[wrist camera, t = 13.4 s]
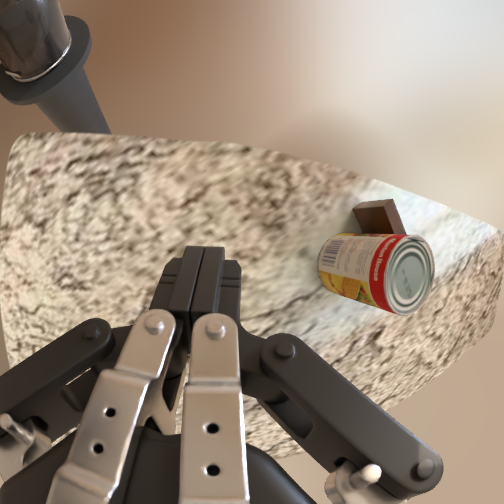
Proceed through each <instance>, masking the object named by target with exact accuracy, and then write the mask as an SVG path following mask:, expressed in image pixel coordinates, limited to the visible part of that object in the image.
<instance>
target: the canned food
mask: <svg viewBox="0 0 504 504" xmlns="http://www.w3.org/2000/svg"><path fill="white" fill-rule="evenodd" d="M318 272H319V277H320V279H321V281H322V283H323V285H324V286H325V287H326V288H327V289H328V290H330V291H331V292H333V293H336V294H338V295H341V296H344V297H347V298H350V299H353V300H356V301H359V302H362V303H365V304H368V305H371V306H374V307H377V308H380V309H383V310H386V311H389V312H392V313H395V314H398V315H402V316H408V315H411V314H413V313H415V312H416V311H418V310H419V309H420V308H421V307H422V306H423V305H424V303H425V302H426V300H427V298H428V296H429V294H430V292H431V289H432V286H433V281H434V274H435V264H434V257H433V253H432V250H431V248H430V246H429V244H428V243H427V242H426V241H425V240H424V239H423V238H422V237H420V236H418V235H397V234H363V233H340V234H337V235H334V236H333V237H331V238H330V239H329V240H328V241H327V242H326V243H325V244H324V246H323V248H322V250H321V252H320V255H319V259H318Z"/></svg>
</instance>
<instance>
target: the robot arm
mask: <svg viewBox="0 0 504 504" xmlns="http://www.w3.org/2000/svg"><path fill="white" fill-rule="evenodd" d="M71 43H72V38H71V34H70V31H69V30H68V28H67V25H66V22H65V19H64V16H63V13H62V10H61V7H60V4H59V1H58V0H0V61H1V63H2V64H3V65H4V66H5V68H6V69H7V70H8V71H9V72H7V71H5V72H6V73H7V74H8V75H11V76H12V77H13V78H14V80H16V81H17V82H20V83H29V82H33V81H36V80H38V79H40V78H42V77H44V76H46V75H47V74H49V73H50V72H51V71H53V70H54V69H55V68H56V67H57V66H58V65H59V64H60V63H61V62H62V61H63V60H64V58H65V57H66V55H67V54H68V52H69V50H70V47H71ZM240 300H241V267H240V265H239V264H238V262H237V260H225V249H224V247H207V246H206V248H205V246H186V249H185V252H184V255H183V257H182V258H173V259H172V260H170V261H169V262H168V263H167V264H166V265H165V268H164V270H163V273H162V276H161V278H160V281H159V284H158V286H157V289H156V291H155V294H154V297H153V300H152V302H151V305H150V308H149V310H148V311H146V312H144V313H142V314H141V315H139V316H138V317H137V319H136V320H135V322H134V324H133V325H130V326H125V327H118V328H111V327H110V325H109V323H108V322H107V321H105V320H103V319H100V318H92V319H88V320H86V321H84V322H82V323H81V324H79V325H78V326H76V327H74V328H73V329H71V330H70V331H68V332H67V333H65V334H63V335H62V336H60V337H59V338H57V339H56V340H54V341H53V342H51V343H50V344H48V345H46V346H45V347H43V348H42V349H40V350H39V351H37V352H36V353H34V354H33V355H31V356H30V357H28V358H27V359H25V360H24V361H22V362H21V363H19V364H18V365H16V366H15V367H13V368H12V369H10V370H9V371H7V372H6V373H4V374H3V375H1V376H0V475H1V477H2V479H3V481H4V484H3V485H2V487H1V488H0V504H317V503H316V502H315V501H314V500H313V499H312V498H311V497H310V496H309V495H308V494H307V493H306V492H305V491H304V490H303V489H302V488H301V487H300V486H299V485H298V484H297V483H296V482H295V481H294V480H293V479H292V478H291V477H290V476H289V475H288V474H287V472H286V471H285V470H284V469H283V468H282V467H281V466H280V465H279V464H278V463H277V462H276V461H275V460H274V459H273V458H272V457H271V456H270V455H268V454H267V453H265V452H264V451H262V450H261V449H259V448H257V447H255V446H252V445H250V444H247V443H245V434H244V419H243V403H242V394H245V395H248V396H251V397H254V398H256V399H257V401H258V403H259V404H260V405H261V406H262V407H263V408H264V409H265V410H266V411H267V412H268V413H269V415H270V416H271V417H272V418H273V419H274V420H275V421H276V422H277V423H278V424H279V425H280V426H281V427H282V428H283V429H284V430H285V431H286V432H287V433H288V434H289V435H290V436H291V437H292V438H293V439H294V440H295V441H296V442H297V443H298V444H299V445H300V446H301V447H302V448H303V449H304V450H305V451H306V452H307V453H309V454H310V455H311V456H312V457H313V458H314V459H315V460H316V461H317V462H318V463H319V464H320V465H321V466H322V467H323V468H325V469H326V470H327V471H328V472H329V473H330V475H329V476H328V478H327V479H326V482H325V493H326V495H327V497H328V498H329V499H330V501H331V502H332V503H333V504H405V503H406V502H407V500H409V499H410V498H411V497H414V496H417V495H420V494H423V493H426V492H428V491H430V490H432V489H433V488H434V487H435V486H436V485H437V484H438V483H439V481H440V480H441V477H442V474H443V462H442V459H441V457H440V456H439V454H437V452H435V451H434V450H433V449H432V448H430V447H429V446H428V445H427V444H425V443H424V442H423V441H421V440H420V439H419V438H418V437H416V436H415V435H414V434H413V433H411V432H410V431H409V430H408V429H406V428H405V427H404V426H403V425H401V424H400V423H399V422H397V421H396V420H395V419H394V418H392V417H391V416H390V415H389V414H388V413H386V412H385V411H384V410H383V409H382V408H380V407H379V406H378V405H377V404H375V403H374V402H373V401H372V400H371V399H369V398H368V397H367V396H366V395H365V394H363V393H362V392H361V391H360V390H359V389H357V388H356V387H355V386H354V385H353V384H351V383H350V382H349V381H348V380H347V379H346V378H344V377H343V376H342V375H341V374H340V373H339V372H337V371H336V370H335V369H334V368H333V367H332V366H330V365H329V364H328V363H327V362H326V361H325V360H323V359H322V358H321V357H320V356H319V355H318V354H316V353H315V352H314V351H313V350H312V349H311V348H310V347H308V346H307V345H306V344H305V343H304V342H303V341H302V340H300V339H299V338H298V337H296V336H294V335H291V334H285V333H279V334H274V335H272V336H270V337H268V338H267V339H264V338H261V337H257V336H255V335H252V334H250V333H249V332H247V331H246V330H245V329H244V328H243V327H242V326H241V324H240V321H239V319H240ZM188 354H190V365H189V378H188V382H187V383H186V384H185V387H184V395H183V410H182V427H181V434H175V429H176V424H175V416H176V411H177V407H178V403H179V399H180V395H181V391H182V387H183V383H184V379H185V376H186V362H187V357H188ZM89 368H91V369H90V370H88V371H87V372H85V371H86V370H87V369H89ZM83 372H85V373H84V374H83V375H81V376H80V377H78V378H77V379H75V380H74V381H72V382H71V383H69V384H68V385H66V384H67V383H68V382H70V381H71V380H73V379H74V378H76V377H77V376H79V375H80V374H82V373H83ZM78 424H79V426H78V429H77V430H75V431H73V432H72V433H71V434H69V435H68V436H67V437H65V438H64V439H63V440H61V441H60V442H59V443H57V444H56V445H55V446H53V447H52V446H51V443H52V442H53V441H55V440H56V439H58V438H59V437H61V436H62V435H64V434H65V433H67V432H68V431H69V430H71V429H72V428H74V427H75V426H77V425H78Z"/></svg>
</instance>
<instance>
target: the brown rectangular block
mask: <svg viewBox="0 0 504 504" xmlns="http://www.w3.org/2000/svg"><path fill="white" fill-rule="evenodd" d="M353 211H354V213H355V215H356V218H357V220H358V222H359V224H360V226H361V229H362V231H363V233H364V234H397V235H406V232H405V229H404V226H403V224H402V221H401V218H400V216H399V213H398V211H397V208H396V205H395V203H394V200H393V199H387V200H378V201H369V202H362V203H360V204H359V205H357V206H356V207H355V208H353Z"/></svg>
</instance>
